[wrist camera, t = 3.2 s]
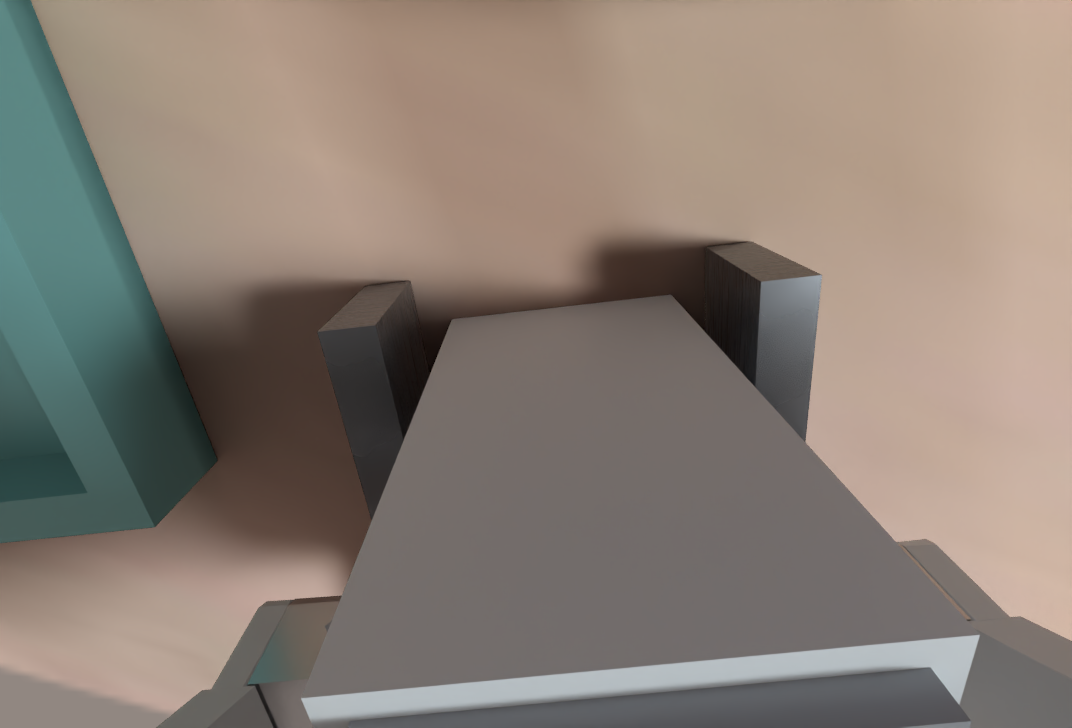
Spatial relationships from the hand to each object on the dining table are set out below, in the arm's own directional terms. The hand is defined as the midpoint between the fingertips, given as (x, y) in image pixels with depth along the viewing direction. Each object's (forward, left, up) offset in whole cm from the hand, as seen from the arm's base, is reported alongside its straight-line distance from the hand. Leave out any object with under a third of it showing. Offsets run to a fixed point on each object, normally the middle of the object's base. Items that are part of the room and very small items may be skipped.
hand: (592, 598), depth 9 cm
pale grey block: (0, 0, -5) cm, 5 cm away
